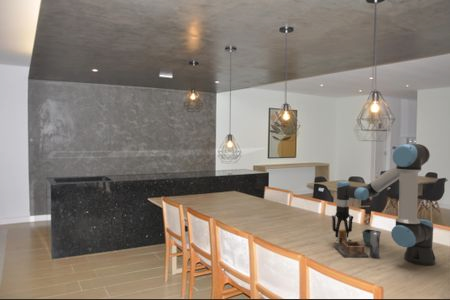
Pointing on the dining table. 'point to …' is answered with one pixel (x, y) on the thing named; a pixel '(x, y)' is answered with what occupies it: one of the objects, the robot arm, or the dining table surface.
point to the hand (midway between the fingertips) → (341, 242)
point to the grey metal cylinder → (374, 244)
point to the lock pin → (343, 236)
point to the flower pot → (367, 236)
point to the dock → (351, 249)
